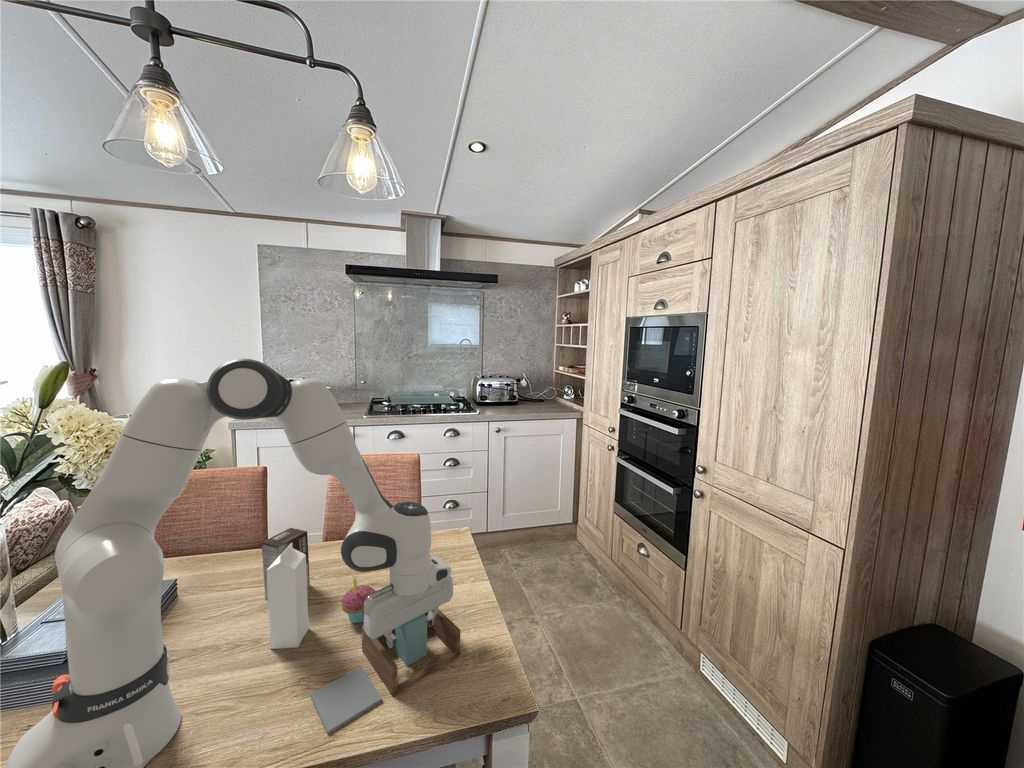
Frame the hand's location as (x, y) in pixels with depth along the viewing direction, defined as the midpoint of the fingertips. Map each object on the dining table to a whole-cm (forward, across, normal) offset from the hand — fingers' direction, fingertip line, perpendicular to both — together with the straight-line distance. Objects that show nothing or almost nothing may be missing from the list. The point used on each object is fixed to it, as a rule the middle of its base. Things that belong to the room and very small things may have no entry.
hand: (411, 634), depth 89 cm
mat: (+4, -15, -2) cm, 16 cm away
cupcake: (+5, -4, +19) cm, 20 cm away
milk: (+4, -19, +22) cm, 29 cm away
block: (+4, 0, 0) cm, 4 cm away
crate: (+4, 0, 0) cm, 4 cm away
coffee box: (+5, -15, +41) cm, 44 cm away
